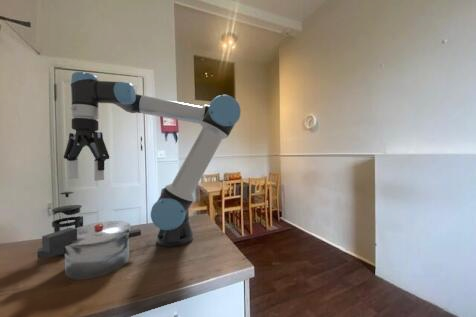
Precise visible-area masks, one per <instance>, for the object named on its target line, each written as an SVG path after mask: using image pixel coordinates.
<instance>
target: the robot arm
mask: <svg viewBox="0 0 476 317" xmlns="http://www.w3.org/2000/svg"><path fill="white" fill-rule="evenodd" d="M70 79H71V82H70V89H71V91H70V92H71V107H70V109H71V117H72V118H71V129H72V130H75V133H72V132H70V133H69V135H68V142H67V144H66V148H65V152H64V154H63V159H65V160H67V161H68V163H67V164H68V167H67V168H68V180H73V179H79V158H78V157H79V156H80V153H81V151H82V150H83V148H85V147H88V148H89V150H90V152H91V154H92V155H93V158H94V160H93V162H94V163H93V164H94V174H93V177H94V182H95V181H96V182H97V181H105V161H106V160H109V159H110V154H109V152H108V149H107V145H106V143H105V141H104V137H103V136H104V135H103V132H99V121H98V119H99V117H100V116H99V104H111V105H112V104H113V105H116V106H118V107H119V108H120V109H122V110H123V111H124V112H125V111H126V112H128V113H129V114H130V113H131V114H136V113H137V114H144V115H150V116H155V117H161V118H166V119H171V120H178V121H184V122H189V123H194V124H199V125H200V126H201V127H202V128H201V131H200V132H199V134H198V136H197V138H196V139H195V141H194V143H193V145H192V147H191V148H190V150H189V152H188V154H187V156H186V158H185V159H184V161H183V163H182V165H181V167H180V168H179V170H178V171H177V173H176V175H175V178H174V179H173V180H172V183H169V184H166V185H165V186H164V188H162V189H161V191H160V196H159V198H158V199H157V201H156V202H155V203H154V204H153V205H152V207H151V210H150V219H151V222H152V224H153V225H154V226H155V227H157V228H158V229H159V230H158V233H157V238H156V242H157V244H158V245H160V246H162V247H178V246H183V245H185V244H188V243H190V242H191V241H192V240H193V238H194V231H193V229H192V228H193V227H192V225H191V224H190V218H189V217H190V216H189V215H190V210H189V209H190V208H191V205H192V204H193V202H194V199H195V198H194V192H195V190H196V188H197V186H198V185H199V182H200V181H201V179H202V178H203V175H204V173H206V170H207V168H208V166H209V164H210V162H211V160H212V159H213V157H214V155H215V153H216V151H217V150H218V148H219V146H220V144H221V142H222V140H224V139H226V138H229V136H230V134H231V132H232V130H233V129H234V126H235V124H236V123H238V121H239V119H240V118H241V105H240V104H239V101H237V100H236V99H235V97H233V96H231V95H228V94H221V95H217V96H216V97H214V98H213V99H212V100H211V102H209V105H208V104H204V105H203V106H200V105H197V104H195V105H194V104H189V103H186V102H185V103H184V102H179V101H174V100H169V99H166V98H165V99H164V98H158V97H154V96H148V95H142V94H137V93H136V89H135V87H134V85H133V84H132V83H130V82H126V81H125V82H124V81H107V80H106V81H105V80H99V78H98V77H97V75H94V74H92V73H89V72H84V71H74V72H73V73H72V74H71V78H70Z"/></svg>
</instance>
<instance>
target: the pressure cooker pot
mask: <svg viewBox="0 0 476 317" xmlns="http://www.w3.org/2000/svg"><path fill="white" fill-rule="evenodd" d="M141 230H142V229H140V228H138V229H135V230H130V231H129V232H128V233H127V234H126V235H124V236H122V237H120V238H118V239H115V240H112V241H109V242H105V243H101V244H96V245H90V246H65V247H62V248H60V249H57V250H54V251H52V252H46V251H42V247H39V248H38V249H37V260H43V259H48V258H53V257H58V256H57V255H61V254H64V253H65V256H64V270H65V271H64V274H65V276H66V277H67V278H68V279H71V280H89V279H94V278H98V277H102V276H105V275H107V274H110V273H113V272H115V271H116V270H117V271H118V269H120V268H121V267H123V266H124V265H126V263H128V261H129V259H130V239H131V238H134V237H139V236H142V231H141Z"/></svg>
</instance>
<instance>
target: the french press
mask: <svg viewBox="0 0 476 317" xmlns="http://www.w3.org/2000/svg"><path fill="white" fill-rule="evenodd" d="M74 193H75V192H74V191H63V192H60V193H59V194H60V195H64V196H65V198H66V205H64V206H63V205H62V206H57V207H54V208H52V209H51V212H53V214H52V215H53V216H55V215H56V214H59V213H62V214H63V215H66V217H62V218H59V219H56V220H54V221H53V220H52V222H51V227H52V228H54V232H58V231H61V230H60V228H66V229H67V228H69V227H72V226H74V228H78V227H81V226H84V216H83V215H78V216H71V215H76V214H79V213H81V208H83V207H82V205H80V204H73V205H72V204H70V205H69V200H68V199H69V196H70V194H71V195H72V194H74ZM69 221H70V222H69ZM56 257H65V253H64V254H61V255H57V256H56Z"/></svg>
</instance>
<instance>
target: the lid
mask: <svg viewBox="0 0 476 317" xmlns="http://www.w3.org/2000/svg"><path fill="white" fill-rule="evenodd" d="M129 231H131V223H129V222H128V221H127V222H126V221H121V220H110V221H109V220H107V221H100V222H94V223H90V224H89V223H88V224H85V225H83V226H81V227H78V228H75V227H68V228H67V227H66V228H63V229H61V230H60V231H58V232H55V231H54V232H52V233H49V234H45V235H42V236H41V242H42V243H41V245H42V247H41V248H42V251H46V252H52V251H54V250H57V249H60V248H62V247H65V246H90V245H96V244H101V243H105V242H109V241H112V240H115V239H118V238H120V237H122V236H124V235H126V234H127V233H128V232H129Z"/></svg>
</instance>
